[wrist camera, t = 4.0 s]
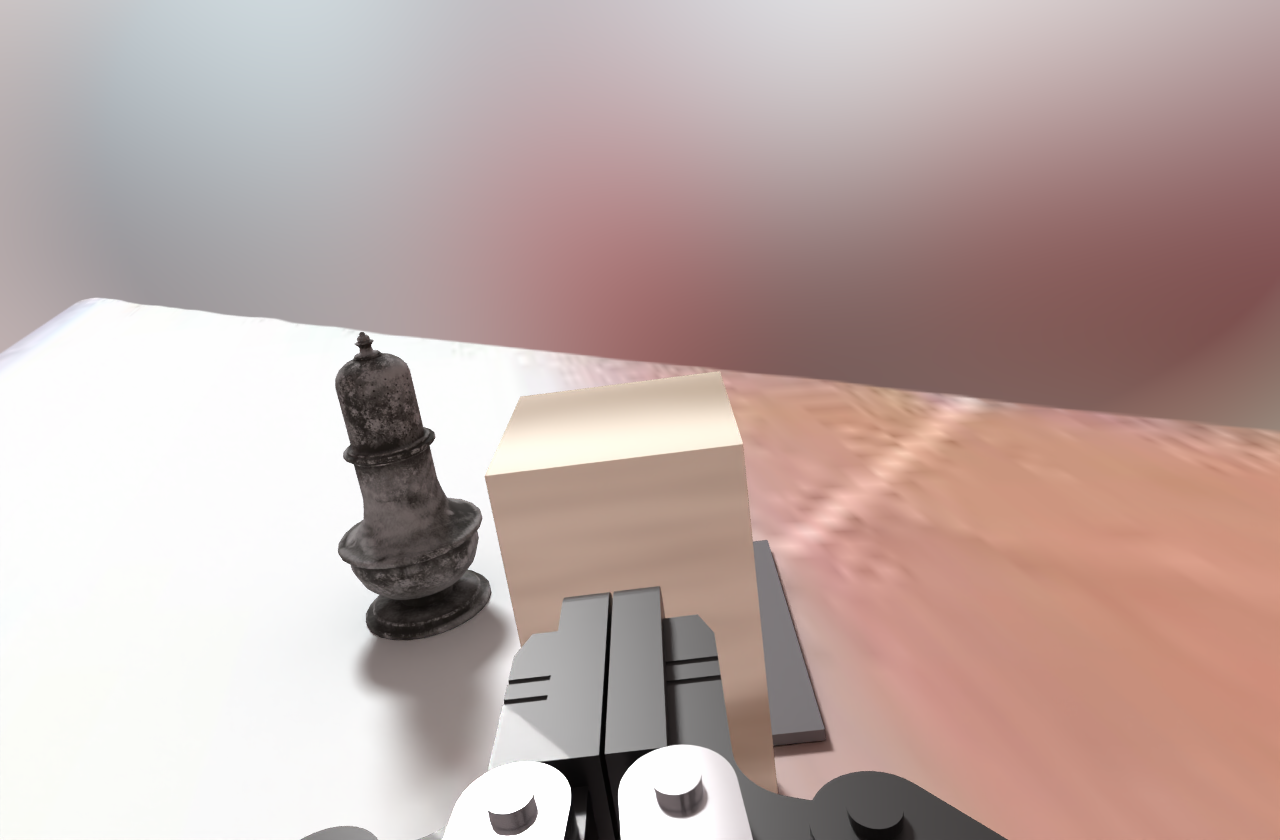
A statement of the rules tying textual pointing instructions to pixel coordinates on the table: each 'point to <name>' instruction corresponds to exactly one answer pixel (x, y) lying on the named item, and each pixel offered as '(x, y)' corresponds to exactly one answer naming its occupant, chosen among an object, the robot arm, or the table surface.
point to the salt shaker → (404, 508)
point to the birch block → (639, 523)
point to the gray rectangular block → (784, 661)
